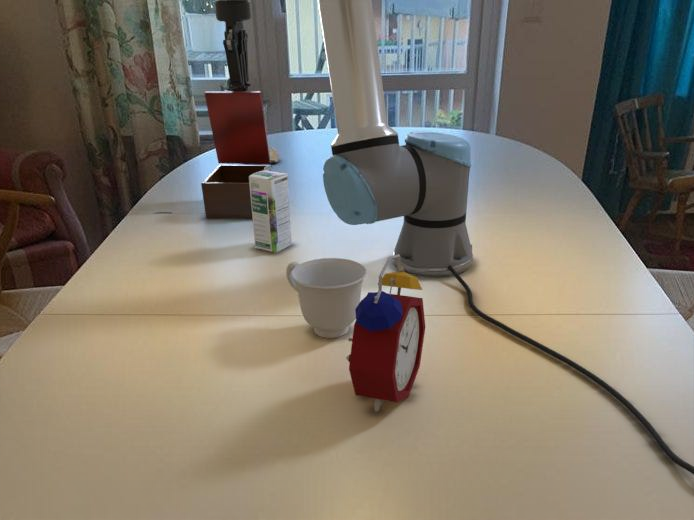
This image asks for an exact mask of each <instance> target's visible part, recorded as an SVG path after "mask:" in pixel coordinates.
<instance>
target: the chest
mask: <svg viewBox="0 0 694 520" xmlns="http://www.w3.org/2000/svg"><path fill="white" fill-rule="evenodd" d="M264 170H268V171H272V166H271V164H218V165H217V166H216V167H215V168H214V169H213V171H211V172H210V173H209V175H207V176H206V177H205V178H204V180H203V181H201V183H200V185H201V192H202V201H203V207H204V213H205V219H208V220H209V219H210V220H211V219H212V220H215V219H216V220H219V219H220V220H253V217H252V206H251V196H250V185H249V176H250V175H252V174H254V173H256V172H259V171H264Z"/></svg>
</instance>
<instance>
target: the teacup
mask: <svg viewBox="0 0 694 520" xmlns="http://www.w3.org/2000/svg"><path fill="white" fill-rule="evenodd" d="M285 275H286V279H287V281H288V284H289V285H290V287H291V288H292V289H293V290H294V291H295V292H296V293H297V294H298V300H299V305H300V306H299V307H300V309H301V313H302V316H303V319H304V320H305V321H306V323H307V324H308V325H310V326H311V327H312V328H313V333H314V334H315V335H316V336H318V337H320V338H326V339H334V338H341V337H343V336H345V335H346V334H347V333H348V332H349V326H350V325H352V324H353V323H355V321H356V313H355V309H356V307H357V306H358V304H359V303H360V302H361V295H362V287H363V282H364V280H365V278H366V277H367V276H368V269H367V268H366V267H365V266H364V265H363V264H361V263H360V262H357V261H355V260H352V259H346V258H339V257H325V258H323V257H322V258H316V259H311V260H308V261H305V262H302V263H299V262H298V261H292V262H290V263H288V265H287V267H286V270H285Z"/></svg>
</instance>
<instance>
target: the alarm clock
mask: <svg viewBox="0 0 694 520" xmlns="http://www.w3.org/2000/svg"><path fill="white" fill-rule="evenodd" d="M395 258H397V268H396V269H397V271H394V272H387V273H385V272H386V270H387V268H388V266H389V265H390V262H391V260H393V259H395ZM403 270H404V266H401V268H400V254H398V255H394V254H393V255H389V256H388V258H387V260H386V261H385V263H384V265H383V267H382V269H381V271H380V273H379V274H378V283H377V285H378V291H375V292H373V291H372V292H370V291H367V294H366V296H365V297H364V298H363V299H362V300H360V303H359V304H358V306H357V307H356V309H355V313H356V319H355V320H354V324H353V330H352V337H348V338H347V340H348V342H351V347H350V354H348V355H347V356H346V357H345V359H346V360H347V361H348V362H349V363H348V364H349V365H348V371H349V375H350V379H351V382H352V387H353V391H354V395H355V396H358V397H364V398H370V399H374V412H377V413H378V412H379V411H380V409H381V406H382V404H383V401H386V402H392V403H399V402H401V401H404V400H405V399H408V398H409V396H410V394H411V391H412V389H413V386H414V384H415V380H416V377H417V375H418V372H419V370H420V367H421V361H422V352H423V347H424V341H425V333H426V317H425V309H424V300H423V297H416V296H409V295H403V294H401V291H402V289H408V290H417V291H423V288H422V286H421V283H420V281H419V279H418V276H416V275H412V274H408V273H406V272H403ZM383 286H385V287H390V288H389V293H388V292H386V291H383ZM393 288H397V291H396V293H395V294H394V293H392V290H393ZM342 339H343V340H346V338H344V337H342Z"/></svg>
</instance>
